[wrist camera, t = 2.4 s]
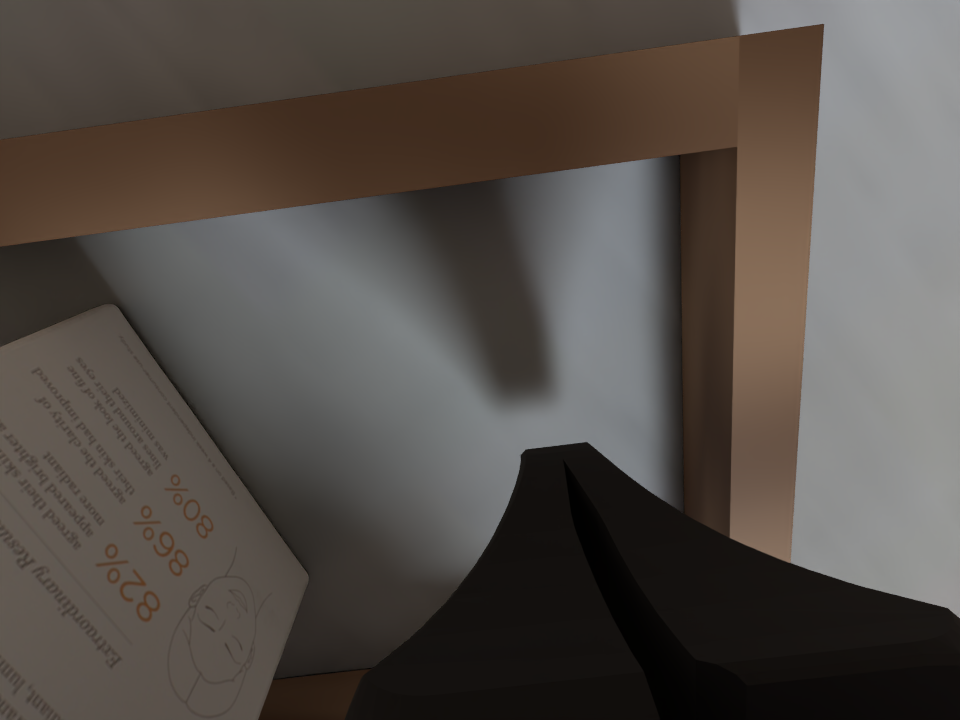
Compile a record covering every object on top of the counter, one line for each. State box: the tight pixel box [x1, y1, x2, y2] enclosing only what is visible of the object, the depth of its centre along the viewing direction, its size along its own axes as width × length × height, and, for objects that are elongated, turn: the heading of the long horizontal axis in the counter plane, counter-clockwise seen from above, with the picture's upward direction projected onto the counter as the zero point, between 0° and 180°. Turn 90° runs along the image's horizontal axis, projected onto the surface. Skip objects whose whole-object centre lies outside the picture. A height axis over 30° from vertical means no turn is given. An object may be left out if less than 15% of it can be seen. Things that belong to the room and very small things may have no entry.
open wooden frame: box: [0, 24, 824, 720], centre depth 12 cm, size 15×21×2 cm
